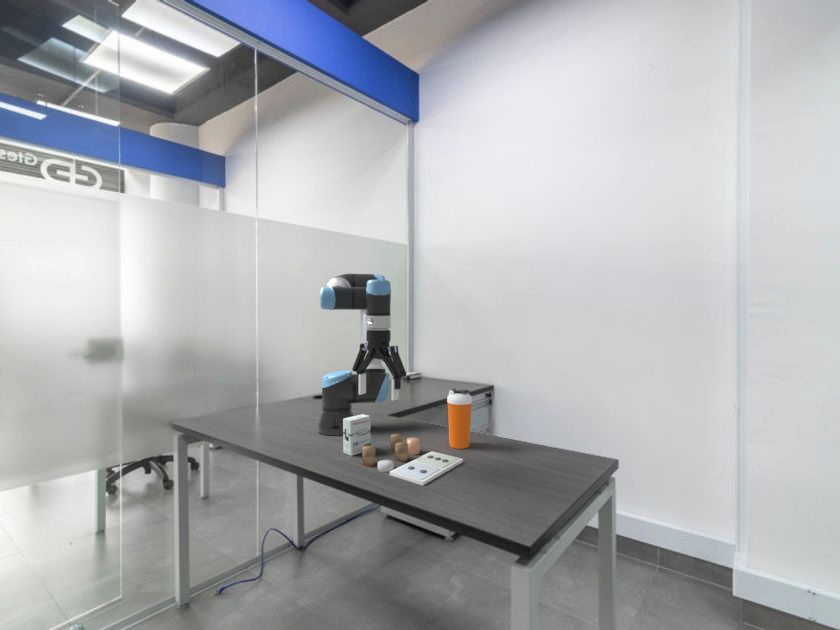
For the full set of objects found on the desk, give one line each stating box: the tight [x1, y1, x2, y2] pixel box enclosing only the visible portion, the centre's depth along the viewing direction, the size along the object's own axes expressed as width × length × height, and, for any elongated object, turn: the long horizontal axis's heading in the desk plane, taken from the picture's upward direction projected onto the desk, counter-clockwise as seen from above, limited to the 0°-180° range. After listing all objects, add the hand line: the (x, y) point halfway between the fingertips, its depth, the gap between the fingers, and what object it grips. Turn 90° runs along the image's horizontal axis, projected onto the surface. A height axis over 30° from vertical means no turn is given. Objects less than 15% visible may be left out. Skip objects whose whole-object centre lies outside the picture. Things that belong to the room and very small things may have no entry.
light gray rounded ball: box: [377, 459, 395, 473], centre depth 126 cm, size 5×5×2 cm
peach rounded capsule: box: [406, 436, 421, 456], centre depth 140 cm, size 4×4×4 cm
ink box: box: [342, 413, 372, 457], centre depth 141 cm, size 9×5×12 cm, turn 134°
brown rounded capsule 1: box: [390, 433, 403, 453], centre depth 143 cm, size 4×4×5 cm
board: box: [389, 450, 464, 486], centre depth 127 cm, size 12×22×1 cm, turn 144°
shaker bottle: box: [446, 388, 473, 450], centre depth 148 cm, size 9×9×20 cm
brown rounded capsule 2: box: [394, 441, 409, 463], centre depth 134 cm, size 4×4×5 cm
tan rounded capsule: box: [361, 445, 376, 467], centre depth 130 cm, size 4×4×5 cm
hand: (378, 396), depth 130 cm, fingers open, 13 cm apart
